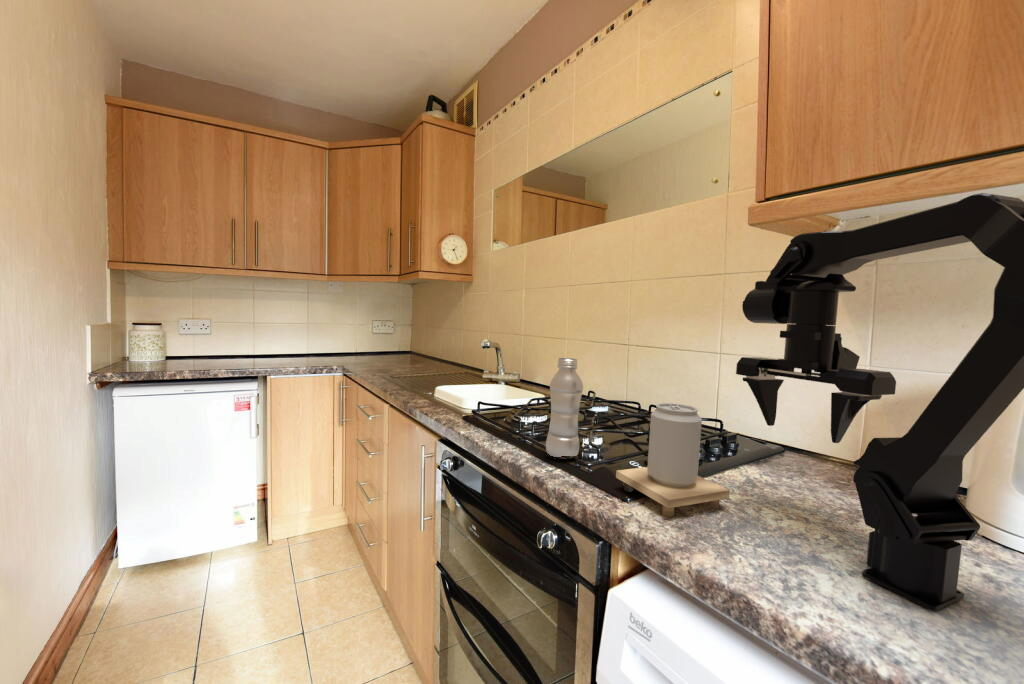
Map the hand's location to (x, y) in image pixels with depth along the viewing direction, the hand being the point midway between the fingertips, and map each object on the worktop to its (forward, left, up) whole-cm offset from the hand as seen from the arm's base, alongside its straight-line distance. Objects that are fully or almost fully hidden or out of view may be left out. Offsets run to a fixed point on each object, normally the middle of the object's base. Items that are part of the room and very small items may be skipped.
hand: (801, 433), depth 62 cm
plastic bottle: (+34, +19, -13) cm, 41 cm away
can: (+12, +12, -10) cm, 20 cm away
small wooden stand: (+12, +12, -13) cm, 21 cm away
